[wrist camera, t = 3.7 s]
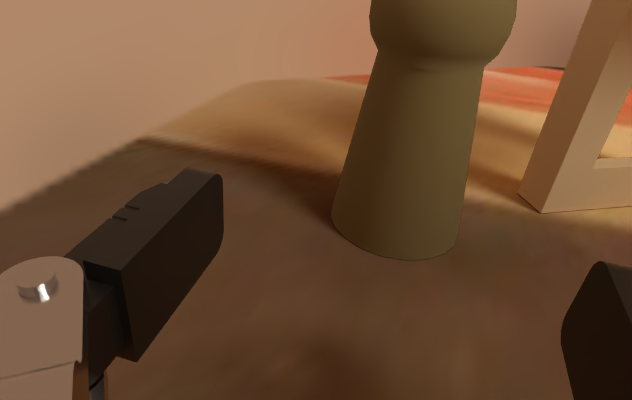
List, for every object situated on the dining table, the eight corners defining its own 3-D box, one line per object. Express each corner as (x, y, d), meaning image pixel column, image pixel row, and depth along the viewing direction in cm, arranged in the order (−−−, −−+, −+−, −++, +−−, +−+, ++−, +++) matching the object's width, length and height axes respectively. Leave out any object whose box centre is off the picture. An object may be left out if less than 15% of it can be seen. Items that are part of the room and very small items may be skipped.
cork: (362, 270, 19) (422, -33, 13) (313, 192, 23) (339, -56, 17) (484, 249, 21) (585, -21, 15) (416, 181, 25) (471, -44, 19)
